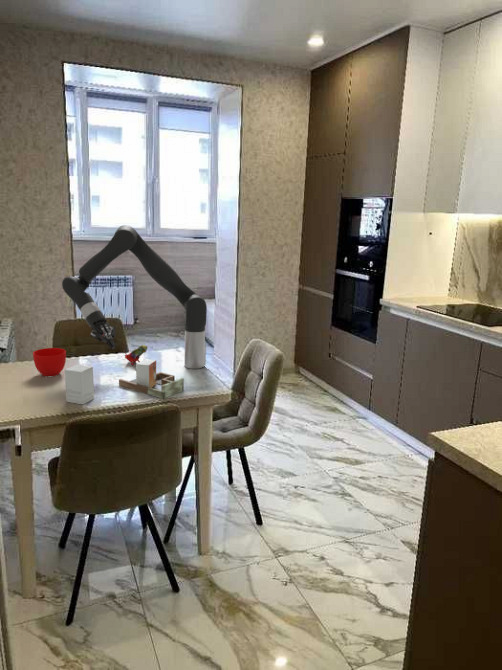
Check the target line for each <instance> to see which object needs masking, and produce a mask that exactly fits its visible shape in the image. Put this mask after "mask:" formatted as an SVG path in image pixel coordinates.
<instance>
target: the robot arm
mask: <svg viewBox="0 0 502 670" xmlns="http://www.w3.org/2000/svg"><path fill="white" fill-rule="evenodd" d="M127 251H130V252H131V253H132V254H133V255H134V256H135V257H136V258H137V260H138V261H139V263H140V264H141V265H142V267H143V268H144V270H145V271H146V272H147V274H148V275H149V276H150V277H151V278H152V279H153V280H154V281H155V282H156V283H157V284H158V285H159V286H160V287H162V288H163V289H164V290H165V291H167V292H168V293H170V294H171V295H172V296H174V297H175V299H176V300H177V301H178V302H179V303H180V304H181V306H182V307H183V308H184V309H185V324H184V367H185V368H186V369H192V370H193V369H194V370H195V369H196V370H197V369H198V370H199V369H202V367H203V368H205V366H206V362H207V357H206V355H207V346H206V325H207V315H208V313H207V310H208V309H207V302H206V300H205V299H204V298H203V297H201V296H200V295H199V294H198V293H196V292H195V291H193V290H192V289H191V288H190V287H189V286H187V284H186V283H184V281H183V279H182V277H180V275H179V274H178V273H177V272H176V271H175V270H174V268H172V266H171V265H169V264H168V262H166V260H164V258H163V257H161V256H160V255H159V254H158V252H156V251H155V250H154V249H152V248H151V247H150V246H149V245H148V244H147V242H146V241H145V240H144V239H143V237H142V236H141V235H140V234H139V233H138V231H137V230H136V229H135V228H134V227H132V226H130V225H127V224H125V225H124V224H123V225H121V226H118V228H117V229H116V231H115V232H114V234H113V236H112V238H111V239H110V241H109V242H108V243H107V244H106V245H105V247H104V248H103V247H102V249H101V250H100V251H98V253H96V254H95V255H93V256H92V257H91V258H89V259H88V260H87V261H86V262H85V263H84V264H83V265H82V266H81V267H80V268H79V269H78V274H79V275H78V276H77V277H75V276H65V277H64V278H63V279H62V282H61V285H62V290H63V292H64V293H65V295H67V296H68V297H69V298H70V300H72V301H73V302H74V303H75V304H76V307H77V308H78V310H79V311H80V313H81V316H82V317H83V319H84V320H85V322H86V324H87V326H89V328H90V329H91V332H90V334H89V336H90V337H92V338H94V339H95V340H97V341H98V342H101V343H105V344H106V345H107V347H108V348H109V349H110V350H113V349H114V350H115V348H116V346H117V344H116V342H115V341H114V338H115V337H116V332H117V331H116V329H117V326H115V325H114V326H111V325H110V323H108V322H107V318H106V316H105V314H104V313H103V312H102V310H101V309H100V307H99V306H98V304H97V303H96V301H95V300H94V299H93V297H92V295H90V294H89V293H88V292H86V291H87V289H88V288H89V286H90V284H91V283H92V282H93V279H95V278H96V277H97V276H98V275H99V274H101V273H102V272H103V270H105V268H107V267H108V266H109V265H110V264H111V263H112V262H113V261H114V260H116V259H117V258H118V257H119V256H121V255H122V254H124V253H125V252H127Z"/></svg>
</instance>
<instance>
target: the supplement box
mask: <svg viewBox="0 0 502 670" xmlns="http://www.w3.org/2000/svg"><path fill="white" fill-rule="evenodd" d="M64 376H65V377H64V378H65V379H64V381H65V394H66V395H65V396H66V399H65V400H66V402H67V403H73V404H79V405H85V404H86V403H88V402H90V401H92V400H94V399H95V385H94V384H95V383H94V367H93V366H91V365H84V364H83V365H82V364H74V365H72V366H70V367H68V368H65V369H64Z"/></svg>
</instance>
